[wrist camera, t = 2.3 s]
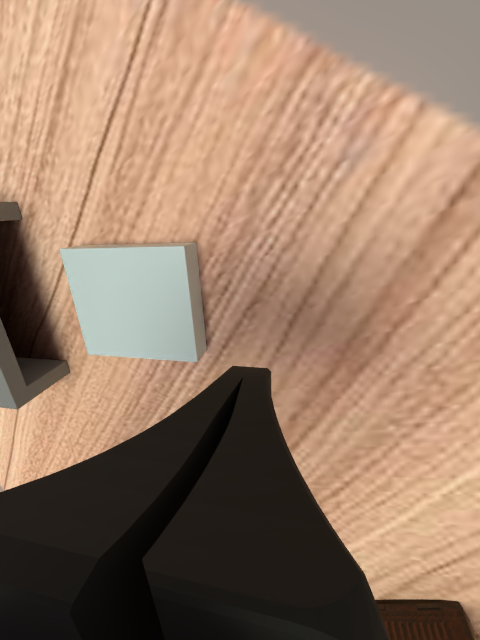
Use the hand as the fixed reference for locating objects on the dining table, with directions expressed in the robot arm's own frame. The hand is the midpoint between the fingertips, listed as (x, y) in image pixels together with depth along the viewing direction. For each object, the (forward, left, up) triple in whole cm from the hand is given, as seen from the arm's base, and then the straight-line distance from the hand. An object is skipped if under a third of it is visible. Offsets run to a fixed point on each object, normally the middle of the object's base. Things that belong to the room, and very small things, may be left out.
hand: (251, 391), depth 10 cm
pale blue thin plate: (0, +10, -11) cm, 15 cm away
